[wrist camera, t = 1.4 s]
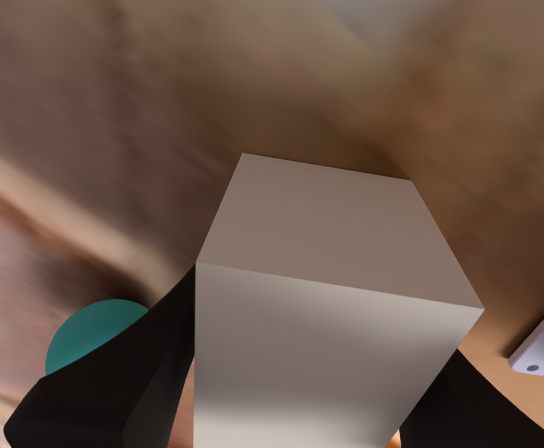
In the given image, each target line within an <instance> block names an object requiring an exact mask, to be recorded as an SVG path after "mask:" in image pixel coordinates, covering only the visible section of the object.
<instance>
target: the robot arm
mask: <svg viewBox="0 0 544 448" xmlns="http://www.w3.org/2000/svg"><path fill="white" fill-rule="evenodd" d="M195 288H196V263H195V264H194V265H193V267H192V268H191V269H190V270H189V271H188V272H187V274H186V275H185V276H184V277H183V278H182V279H181V280H180V281H179V282H178V283H177V284H176V285H175V286H174V287H173V288H172V289H171V291H170V292H169V293H168V294H166V295H165V296H164V297H163V298H162V299H161V300H160V301H159V302H158V303H157V304H156V305H155V306H153V307H152V308H151V309H150V310H149V311H148V312H147V313H145V314H144V315H143V316H142V317H140V318H139V319H138V320H137V321H135V322H134V323H133V324H131V325H130V326H129V327H127V328H126V329H125V330H123V331H122V332H120V333H119V334H118V335H116V336H115V337H113V338H112V339H110V340H109V341H107V342H106V343H104V344H102V345H101V346H99V347H97V348H96V349H94V350H93V351H91V352H89V353H88V354H86V355H84V356H83V357H81V358H79V359H77V360H76V361H74V362H72V363H70V364H68V365H66V366H64V367H62V368H60V369H58V370H56V371H55V372H53V373H51V374H49V375H47V376H45V377H43V378H41V379H39V381H38V382H37V383H36V384H35V385H34V387H33V388H32V389H31V390H30V391H29V392H28V393H27V395H26V396H25V397H24V398H23V400H22V401H21V403H20V404H19V405H18V407H17V408H16V410H15V411H14V412H13V414H12V415H11V417H10V418H9V420H8V421H7V422H6V424H5V425H4V429H3V431H4V435H5V438H6V440H7V441H8V443H9V444H10V446H11V447H12V448H167V445H168V441H169V437H170V433H171V430H172V426H173V422H174V419H175V415H176V411H177V408H178V404H179V401H180V397H181V394H182V390H183V387H184V383H185V380H186V377H187V374H188V371H189V368H190V366H191V363H192V361H193V358H194V355H195ZM508 364H509V366H510V367H511V369H512V370H513V371H517V372H522V373H528V374H534V375H540V376H544V320H543V321H542V322H541V323H540V324H539V325H538V326H537V328H536V329H535V330H534V331H533V332H532V333H531V334H530V335H529V337H528V338H527V339H526V340H525V341H524V342H523V343H522V344H521V346H520V347H519V348H518V349H517V350H516V351H515V352H514V353H513V355H512V356H511V357H510V358H509V360H508ZM399 432H400V440H401V448H544V429H543V428H541V427H540V426H539V425H538V424H536V423H535V422H534V421H533V420H531V419H530V418H529V417H528V416H527V415H525V414H524V413H523V412H522V411H521V410H519V409H518V408H517V407H516V406H515V405H514V404H513V403H511V402H510V401H509V400H508V399H507V398H506V397H505V396H503V395H502V394H501V393H500V392H499V391H498V390H497V389H496V388H495V387H494V386H493V385H492V384H491V383H490V382H489V381H488V380H487V379H486V378H485V377H484V376H483V375H482V374H481V373H480V372H479V371H478V370H477V369H476V368H475V367H474V366H473V365H472V364H471V363H470V362H469V361H468V360H467V359H466V358H465V357H464V355H463V354H462V353H461V352H460V351H459V350H458V349H456V350H455V352H454V353H453V354H452V356H451V357H450V358H449V360H448V361H447V363H446V364H445V365H444V367H443V368H442V370H441V371H440V372H439V374H438V375H437V376H436V378H435V379H434V381H433V382H432V383H431V385H430V386H429V387H428V389H427V390H426V392H425V393H424V394H423V396H422V397H421V399H420V400H419V401H418V403H417V404H416V405H415V407H414V408H413V410H412V411H411V412H410V414H409V415H408V416H407V418H406V419H405V421H404V422H403V423H402V425H401V426H400V428H399Z"/></svg>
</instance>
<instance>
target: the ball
mask: <svg viewBox="0 0 544 448" xmlns="http://www.w3.org/2000/svg"><path fill="white" fill-rule="evenodd" d="M148 311H149V310H148V309H147V308H146V307H144V306H142V305H140V304H138V303H136V302H133V301H129V300H123V299H109V300H103V301H99V302H95V303H92V304H90V305H88V306H86V307H84V308H82V309H80V310H79V311H77V312H76V313H74V314H73V315H72V316H70V317H69V318H68V319H67V320H66V321H65V322H64V323H63V324H62V326H61V327H60V328H59V329H58V331H57V332H56V334H55V335H54V337H53V339H52V341H51V344H50V346H49V349H48V352H47V357H46V364H45V367H46V376H47V375H49V374H51V373H53V372H55V371H56V370H58V369H60V368H62V367H64V366H66V365H68V364H70V363H72V362H74V361H76V360H77V359H79V358H81V357H83V356H84V355H86V354H88V353H89V352H91V351H93V350H94V349H96V348H97V347H99V346H101V345H102V344H104V343H106V342H107V341H109V340H110V339H112V338H113V337H115V336H116V335H118V334H119V333H120V332H122V331H123V330H125V329H126V328H127V327H129V326H130V325H131V324H133V323H134V322H135V321H137V320H138V319H139V318H140V317H142V316H143V315H144V314H145V313H147V312H148Z"/></svg>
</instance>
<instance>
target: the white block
mask: <svg viewBox="0 0 544 448" xmlns="http://www.w3.org/2000/svg"><path fill="white" fill-rule="evenodd" d="M484 310H485V308H484V307H483V305H482V303H481V301H480V300H479V298H478V296H477V294H476V293H475V291H474V289H473V287H472V286H471V284H470V282H469V280H468V279H467V277H466V275H465V273H464V272H463V270H462V268H461V266H460V265H459V263H458V261H457V259H456V257H455V256H454V254H453V252H452V250H451V249H450V247H449V245H448V243H447V242H446V240H445V238H444V236H443V235H442V233H441V231H440V229H439V228H438V226H437V224H436V222H435V221H434V219H433V217H432V215H431V214H430V212H429V210H428V208H427V207H426V205H425V203H424V201H423V199H422V198H421V196H420V194H419V192H418V191H417V189H416V187H415V185H414V184H413V182H412V181H411V180H405V179H399V178H393V177H387V176H381V175H375V174H368V173H362V172H356V171H350V170H344V169H338V168H332V167H326V166H320V165H314V164H308V163H302V162H296V161H290V160H283V159H277V158H271V157H265V156H259V155H253V154H247V153H242V155H241V157H240V160H239V162H238V164H237V167H236V169H235V171H234V174H233V176H232V178H231V181H230V183H229V185H228V188H227V190H226V192H225V195H224V197H223V199H222V202H221V204H220V206H219V209H218V211H217V213H216V216H215V218H214V221H213V223H212V225H211V228H210V230H209V232H208V235H207V237H206V239H205V242H204V244H203V246H202V249H201V251H200V253H199V256H198V258H197V260H196V288H195V368H194V448H385V447H386V445H387V444H388V443H389V441H390V440H391V439H392V437H393V436H394V434H395V433H396V432H397V430H398V429H399V428H400V426H401V425H402V423H403V422H404V421H405V419H406V418H407V416H408V415H409V414H410V412H411V411H412V410H413V408H414V407H415V405H416V404H417V403H418V401H419V400H420V399H421V397H422V396H423V394H424V393H425V392H426V390H427V389H428V387H429V386H430V385H431V383H432V382H433V381H434V379H435V378H436V376H437V375H438V374H439V372H440V371H441V370H442V368H443V367H444V365H445V364H446V363H447V361H448V360H449V358H450V357H451V356H452V354H453V353H454V352H455V350H456V349H457V347H458V346H459V345H460V343H461V342H462V340H463V339H464V338H465V336H466V335H467V334H468V332H469V331H470V329H471V328H472V327H473V325H474V324H475V323H476V321H477V320H478V318H479V317H480V316H481V314H482V313H483V311H484Z"/></svg>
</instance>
